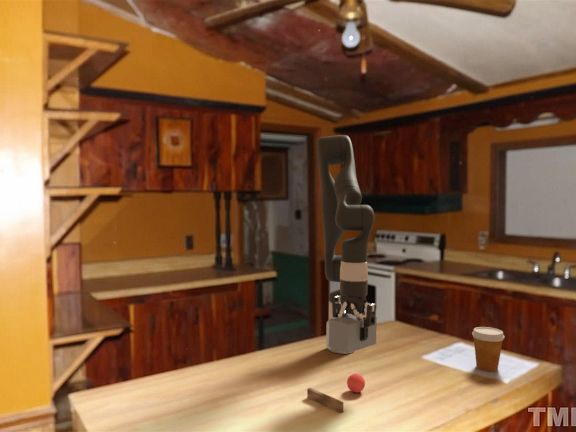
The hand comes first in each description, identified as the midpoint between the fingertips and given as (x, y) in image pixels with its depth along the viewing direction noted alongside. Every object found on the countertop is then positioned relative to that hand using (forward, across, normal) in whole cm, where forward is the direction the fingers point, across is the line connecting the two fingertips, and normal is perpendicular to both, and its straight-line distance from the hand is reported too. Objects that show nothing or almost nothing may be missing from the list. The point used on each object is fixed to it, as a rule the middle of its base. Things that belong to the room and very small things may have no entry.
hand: (352, 337), depth 134 cm
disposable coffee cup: (+16, +16, +47) cm, 52 cm away
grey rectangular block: (+2, 0, 0) cm, 2 cm away
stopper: (+16, 0, -11) cm, 19 cm away
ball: (+13, 0, +1) cm, 13 cm away
